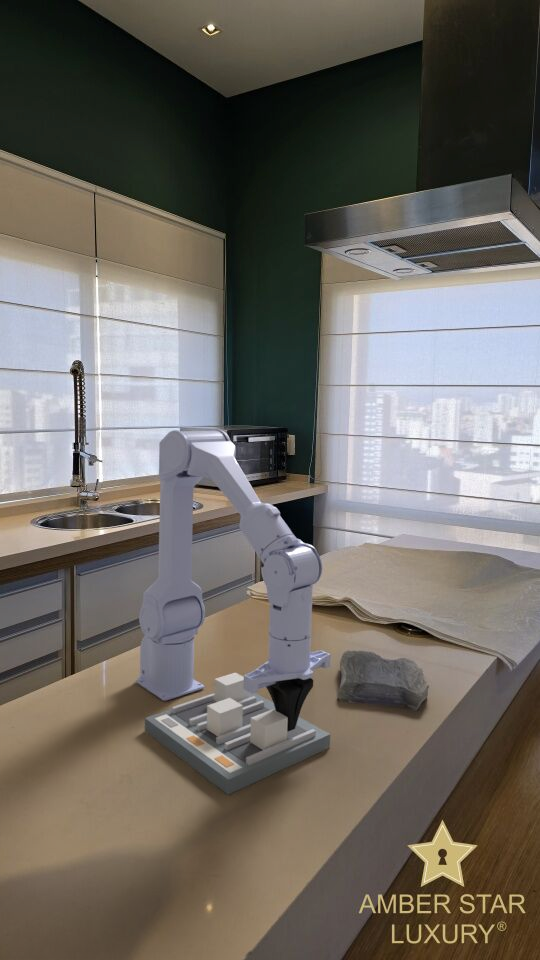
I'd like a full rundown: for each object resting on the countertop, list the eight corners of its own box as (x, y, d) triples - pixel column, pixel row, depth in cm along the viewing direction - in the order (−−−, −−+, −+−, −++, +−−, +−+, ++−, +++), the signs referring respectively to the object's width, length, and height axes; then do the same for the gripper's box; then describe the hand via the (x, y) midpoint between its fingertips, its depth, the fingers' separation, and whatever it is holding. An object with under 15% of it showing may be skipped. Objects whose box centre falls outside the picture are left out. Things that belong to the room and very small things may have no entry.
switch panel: (144, 730, 97) (144, 712, 97) (241, 697, 109) (241, 680, 108) (228, 794, 82) (228, 773, 82) (329, 747, 94) (330, 728, 93)
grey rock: (426, 715, 105) (427, 692, 104) (328, 701, 109) (329, 679, 108) (429, 676, 120) (430, 656, 119) (343, 665, 124) (343, 646, 123)
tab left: (214, 700, 102) (214, 678, 102) (234, 693, 105) (235, 672, 104) (226, 707, 100) (226, 685, 100) (246, 700, 103) (247, 678, 102)
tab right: (250, 742, 90) (250, 717, 90) (272, 732, 93) (273, 709, 92) (264, 751, 88) (265, 726, 88) (286, 741, 91) (287, 717, 90)
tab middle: (206, 729, 93) (207, 705, 93) (229, 720, 96) (229, 697, 96) (219, 737, 91) (219, 713, 91) (242, 728, 94) (242, 705, 93)
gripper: (269, 654, 83) (266, 756, 85) (347, 630, 93) (343, 722, 94) (234, 638, 88) (232, 734, 90) (312, 617, 98) (308, 704, 100)
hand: (287, 727), depth 93 cm, fingers closed
